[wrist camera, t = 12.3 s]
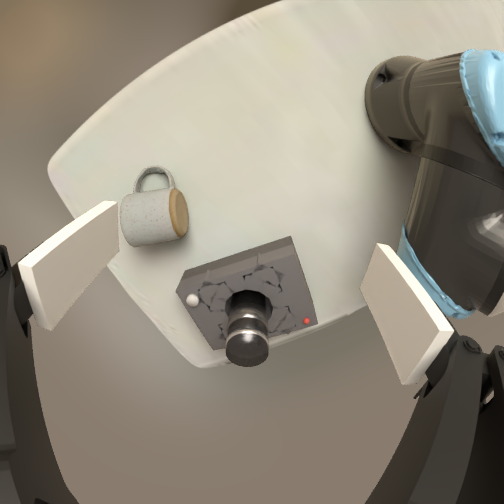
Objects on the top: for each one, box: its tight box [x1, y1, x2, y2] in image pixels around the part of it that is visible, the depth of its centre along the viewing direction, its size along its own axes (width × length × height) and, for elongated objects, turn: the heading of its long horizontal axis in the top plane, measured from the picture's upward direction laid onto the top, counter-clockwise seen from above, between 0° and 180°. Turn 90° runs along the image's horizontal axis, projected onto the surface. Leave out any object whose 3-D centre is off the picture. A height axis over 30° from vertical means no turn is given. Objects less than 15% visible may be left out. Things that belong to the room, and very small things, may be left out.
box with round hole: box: [176, 236, 318, 350], centre depth 43 cm, size 18×14×7 cm
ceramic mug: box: [120, 166, 188, 247], centre depth 36 cm, size 11×8×8 cm
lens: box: [226, 290, 269, 367], centre depth 38 cm, size 6×6×12 cm
